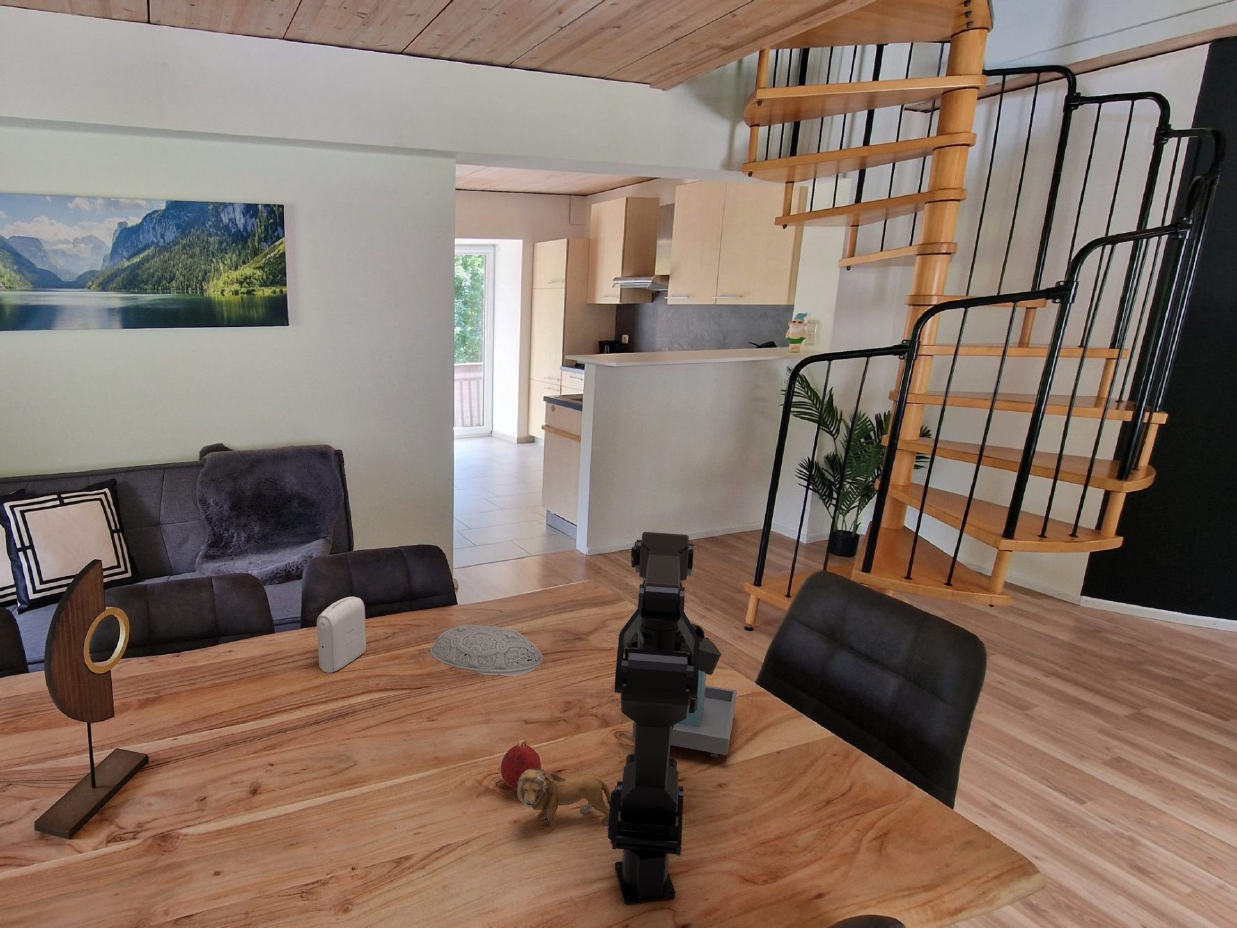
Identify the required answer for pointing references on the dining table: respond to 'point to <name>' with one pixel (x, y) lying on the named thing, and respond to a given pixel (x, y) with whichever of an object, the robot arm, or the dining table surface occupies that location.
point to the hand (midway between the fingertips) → (653, 724)
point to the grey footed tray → (708, 724)
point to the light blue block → (696, 717)
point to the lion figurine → (561, 793)
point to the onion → (518, 763)
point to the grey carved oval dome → (486, 650)
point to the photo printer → (341, 634)
